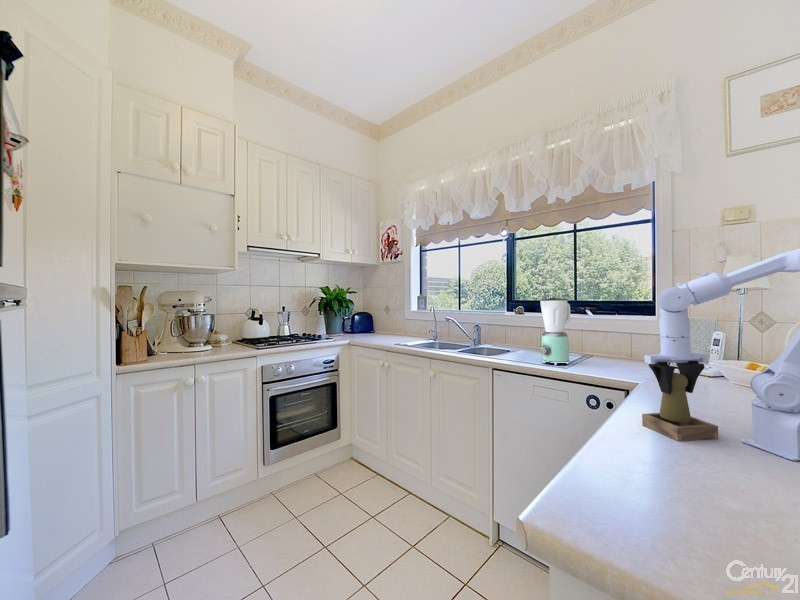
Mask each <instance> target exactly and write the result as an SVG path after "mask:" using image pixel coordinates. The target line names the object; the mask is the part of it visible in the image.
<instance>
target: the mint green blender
mask: <svg viewBox="0 0 800 600" xmlns="http://www.w3.org/2000/svg"><path fill="white" fill-rule="evenodd" d="M539 302H540V308H541V309H540V311H541V315H542V320H543V321H542V322H543V326H544V330H545V331H544V332H543V333H542V334H541V347H540V354H541V361H542V360H544V361H549V362H569V363H570V347H569V346H570V345H569V336H568V334H567V333H566V332H564V331H565V325H566V324H567V323H569V322H570V320H571V304H570V303H568V299H567V298H564V299H563V298H557V297H550V298H546V299H540V300H539Z"/></svg>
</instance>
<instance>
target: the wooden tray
mask: <svg viewBox="0 0 800 600" xmlns="http://www.w3.org/2000/svg"><path fill="white" fill-rule="evenodd" d="M641 416H642V418H641V420H642V421H641V423H642V426H643V427H645V428H646V429H647V428H648V429H649V430H652V431H655V432H656V433H659V434H660V435H663V436H665V437H668V438H669V437H670V438H669V439H672V440H674V441H677V442H687V441H705V440H709V441H710V440H719V426H718V425H716V424H714V423H710V422H708V421H705V420H701V419H699V418H696V417H694V416H691V421H690V422H677V421H671V420H667V419H664V418H662V417H660V412H656V413H655V412H652V413H642V414H641Z"/></svg>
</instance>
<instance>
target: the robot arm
mask: <svg viewBox="0 0 800 600" xmlns="http://www.w3.org/2000/svg"><path fill="white" fill-rule="evenodd" d="M798 272H800V248H797V249H794V250H789V251H786V252H782V253H779V254H776V255H774V256H771V257H769V258H766V259H763V260H761V261H758V262H755V263H753V264H750V265H747V266H745V267H742V268H740V269H737V270H734V271H732V272H729V273H726V274H723V273H718V272H711V273H708V272H704V273H701V274H700V277H697V278H695V279H692V280H690V281H687V282H685V283H684V282H678V283H676V286H677V287H675V286H673V287H672V286H671V287H669V288H667V289H665V290H663V291H662V292H661V293H660V294H659V297H658V300H657V302H658V305H659V307H660V310H659V316H660V317H659V319H658V321H659V342H660V352H658V353H655V354H654V353H652V354H644V358H643V359H644V363H645V364H648V367H649V368H650V370H651V371H652V372H653V373H652V374H654V376H655V379H656V380H657V382H658V386H659V389H660V391H661V393H667V394H671V391H672V376H673V373H675V369H676V366H677V369H678V371H679V372H678V373H679V374H683V375H685V376H686V378H687V380H688V384H687V386H686V387H685V391H686V393H688V394H693V392H694V390H695V386H696V383H697V381H698V378H699V376H700V375H701V373H702V372H703V370H704V369H705V364H704V363H708V354H707V353H699V352H698V353H696V352H695V353H692V352H691V351H692V347H691V346H692V345H691V329H690V328H691V324H690V323H691V322H690V320H691V319H690V318H689V310H688V308H689V306H690V305H692V306H693V305H694V306H698V305H702V304H704V303H708V302H710V301H713V300H715V299H716V300H717V299H719V298H723V297H725V296H728V295H730V293H731V291H732V289H733V287H735V286H738V285H743V284H745V283H748V282H751V281H755V280H758V279H761V278H764V277H767V276H770V275H774V274H776V273H777V274H778V273H798ZM670 364H676V366H672V365H670ZM749 386H750V389H751V391H752V392H753V393H754V394H755V395H756V396H755V397H754V398H753V399H752V400H751V414H752V415H751V416H752V417H751V418H752V419H751V420H752V438H742V439H741V440H740V441H741V442H742V443H745V444H746V445H750V446H752V447H755V448H757V449H761V450H763V451H765V452H769V453H771V454H774V455H777V456H780V457H782V458H785V459H787V460H790V461H794V462H795V461H800V327H799V328H798V330H796V332H795V334H794V336H793V337H792V338H791V340H790V341H789V342H788V344H786V346H785V347H784V349H783V350H782V351H781V353H780V355H779V356H778V357H777V358H776V359H775V360H774V361H772V362H771V363H769V364H768V365H767V367H766V368H765V369H764V370H763V371H761V372H758V373H756V374H754V376H752V378H751V379H750V382H749Z"/></svg>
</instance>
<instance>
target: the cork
mask: <svg viewBox="0 0 800 600" xmlns="http://www.w3.org/2000/svg"><path fill="white" fill-rule="evenodd" d="M687 384H688V380H687V378H686V376H685V375H683V374H680V372H674V373H673V376H672V391H671V394H667V393H663V392H661V393H662V395H661V401H660V402H661V403H660V409H659V413H660V417H662V418H664V419H667V420H671V421H677V422H690V421H691V417H692V415H691V413H690V412H691V411H690V407H689V401H688V397H687V392H686V391H685V387H686V386H687Z"/></svg>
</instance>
